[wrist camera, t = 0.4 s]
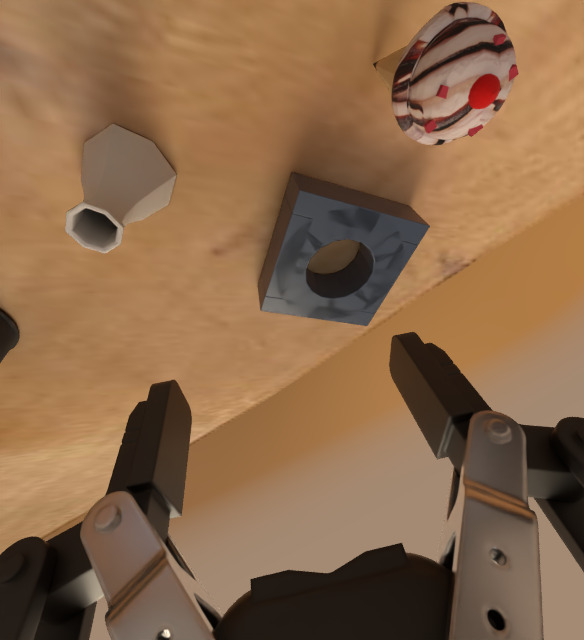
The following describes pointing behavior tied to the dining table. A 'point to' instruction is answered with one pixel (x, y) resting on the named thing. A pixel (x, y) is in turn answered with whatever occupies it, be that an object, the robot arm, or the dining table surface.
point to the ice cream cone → (451, 74)
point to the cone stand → (323, 228)
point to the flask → (118, 187)
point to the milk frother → (7, 335)
